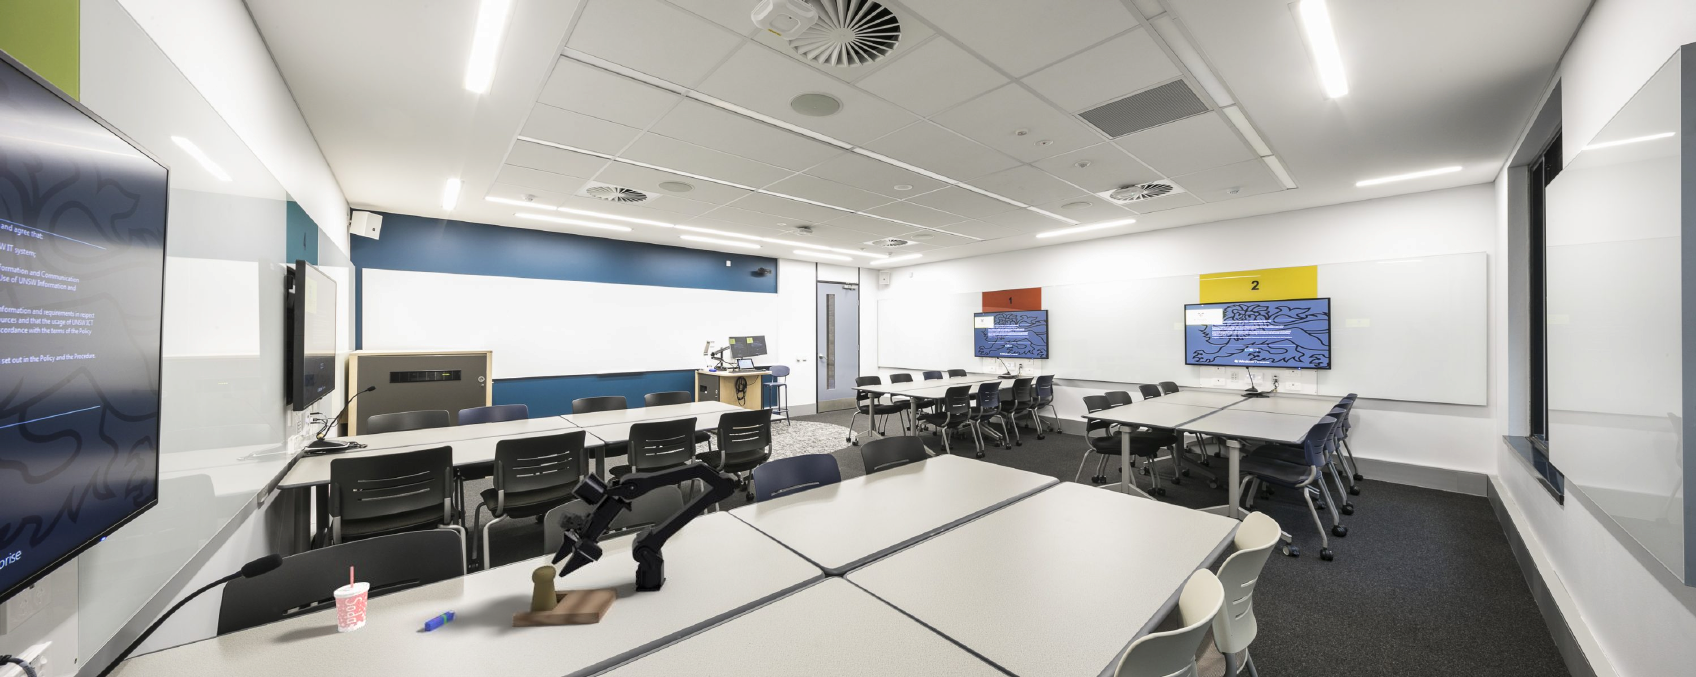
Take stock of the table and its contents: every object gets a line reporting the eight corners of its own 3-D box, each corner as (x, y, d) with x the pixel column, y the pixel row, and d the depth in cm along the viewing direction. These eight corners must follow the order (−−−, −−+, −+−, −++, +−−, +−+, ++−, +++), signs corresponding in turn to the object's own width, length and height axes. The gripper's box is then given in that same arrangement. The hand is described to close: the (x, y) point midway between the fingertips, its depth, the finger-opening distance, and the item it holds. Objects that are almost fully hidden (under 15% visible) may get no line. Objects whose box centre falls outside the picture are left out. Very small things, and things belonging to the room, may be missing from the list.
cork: (563, 608, 131) (563, 564, 131) (542, 620, 125) (542, 574, 125) (545, 604, 133) (545, 561, 133) (523, 616, 127) (523, 570, 127)
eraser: (456, 618, 127) (456, 610, 127) (430, 632, 121) (430, 623, 121) (450, 617, 127) (450, 609, 127) (424, 630, 121) (424, 622, 121)
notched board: (616, 597, 137) (616, 588, 137) (598, 622, 125) (598, 612, 125) (538, 600, 135) (538, 591, 135) (512, 626, 123) (512, 615, 123)
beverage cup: (329, 636, 119) (328, 574, 119) (339, 623, 124) (339, 564, 124) (364, 629, 122) (364, 569, 121) (373, 616, 127) (373, 559, 127)
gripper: (570, 490, 141) (523, 541, 135) (587, 508, 127) (535, 566, 120) (602, 513, 147) (558, 563, 140) (622, 532, 132) (574, 589, 125)
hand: (556, 569), depth 131 cm, fingers open, 9 cm apart
